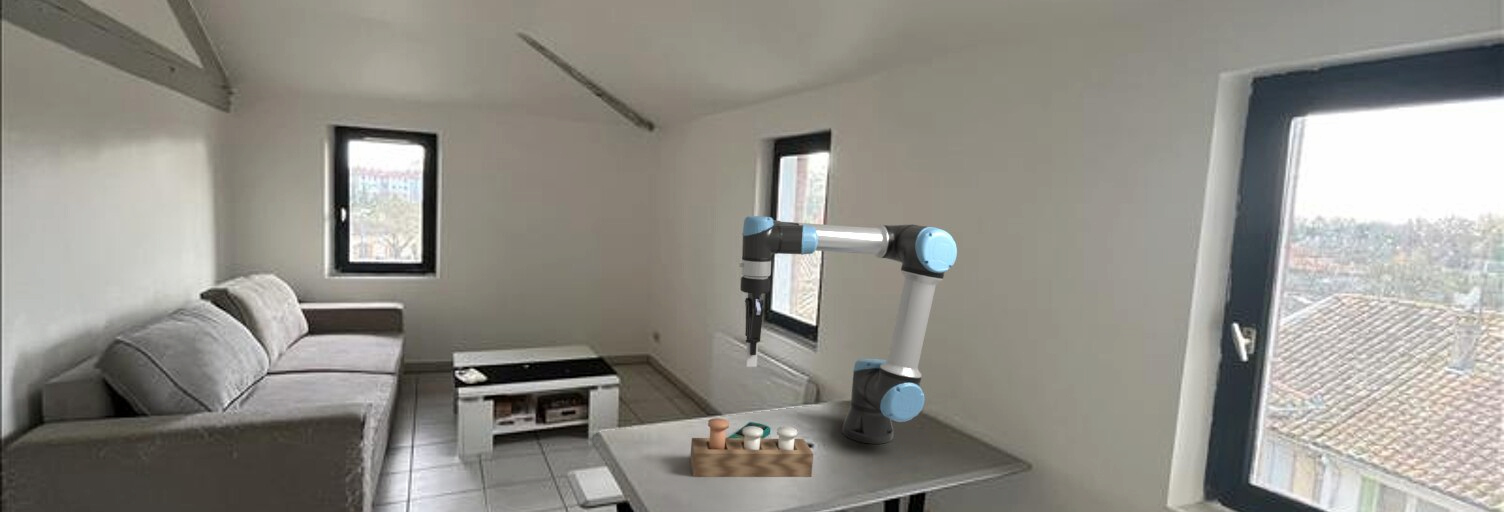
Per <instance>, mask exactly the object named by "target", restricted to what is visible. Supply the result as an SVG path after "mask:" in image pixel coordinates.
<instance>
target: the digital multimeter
mask: <svg viewBox="0 0 1504 512" xmlns="http://www.w3.org/2000/svg"><path fill="white" fill-rule="evenodd" d="M748 426H755V427H759V428H761V429H763V435H762V436H761V437H760V438H762V439H766V437H768V436H769V435H771V430H772V429H771V427H770V426H769V425H766V424H763V423H759V422H754V421H753V422H752V421H749V422H748V423H746V424H745V425H744V426H743V427H741V428H739V429H738V430H737V431H735V432H734V433H732V434H731V435H729V436H728V438H745V435H743V428H744V427H748Z"/></svg>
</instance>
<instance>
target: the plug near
mask: <svg viewBox="0 0 1504 512" xmlns="http://www.w3.org/2000/svg"><path fill="white" fill-rule="evenodd" d="M776 430H777V431H776V434H777V435H778V439H779V443H778V450H794V439H796V437H797V436H798V429H796V428H795V427H792V426H779V427H778V428H777V429H776Z"/></svg>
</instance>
